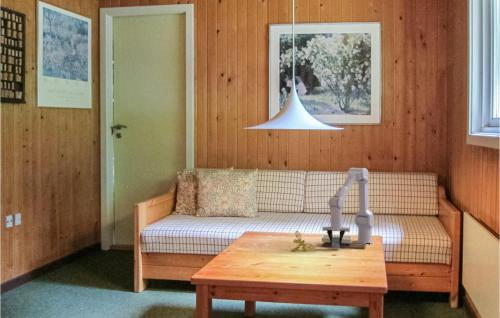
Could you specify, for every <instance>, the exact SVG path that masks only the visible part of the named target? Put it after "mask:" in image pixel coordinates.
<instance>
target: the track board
mask: <svg viewBox="0 0 500 318" xmlns="http://www.w3.org/2000/svg"><path fill="white" fill-rule="evenodd" d="M366 245H367V244H366V243H357V242H352V243H348V245H346V244H345V243H341V245H340V248H339V249H351V250H352V249H353V250H366ZM321 248H332V245H331V242H328V244H325V242H322V244H321ZM332 249H333V248H332Z"/></svg>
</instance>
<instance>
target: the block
mask: <svg viewBox="0 0 500 318" xmlns="http://www.w3.org/2000/svg"><path fill="white" fill-rule="evenodd" d="M332 249H341V248H340V237H332Z"/></svg>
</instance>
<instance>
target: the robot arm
mask: <svg viewBox="0 0 500 318" xmlns="http://www.w3.org/2000/svg"><path fill="white" fill-rule="evenodd" d="M369 178H370V177H369V170H368V169H367V168H365V167H350V168H349V169H348V172H347V177H346V179H345V181H344V183H343V185H342V186H339V188H338V189H337V191H336V193H334V195H333V196H331V197H329V200H328V206H329V210H330V226H322V229H321V231H323V232H324V231H325V232H326V233H327V234H326V235H328V236H329V238H330V242H331V245H332V235H333V232H339V236H340V245H341V242H342V238H343V236H345V233H350V232H351V228H350V227H345V226H342V225H343V224H342V220H343V219H342V213H343V211H342V210H343V207H344V206H345V201H346V200H345V199H346V198H347V196H349V194H350V192H349V191H350V188H351V187H352V186H353V184H354V183H355V182H356V183H358V207H359V210H358V211H357V212H356V213H355V218H354V223H355V225H356V226H357V232H358V233H357V237H358V238H357V241H356V243H370V244H369V245H371V244H372V241H373V240H372V228H373V226H374V225H375V218H374V213H373V211H371V210H370V206H369V203H370V202H369V180H370V179H369ZM371 240H372V241H371Z"/></svg>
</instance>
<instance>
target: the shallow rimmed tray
mask: <svg viewBox="0 0 500 318" xmlns="http://www.w3.org/2000/svg"><path fill="white" fill-rule="evenodd" d="M332 237H340V235H333V234H332ZM353 238H354V237H353V236H352V235H349V236H348V235H343V238H342V242H341V243H345V244H346V245H348V243H353ZM324 242H325V244H328V242H330V238H329V236H328V234H324V235H323V237H321V243H324Z"/></svg>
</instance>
